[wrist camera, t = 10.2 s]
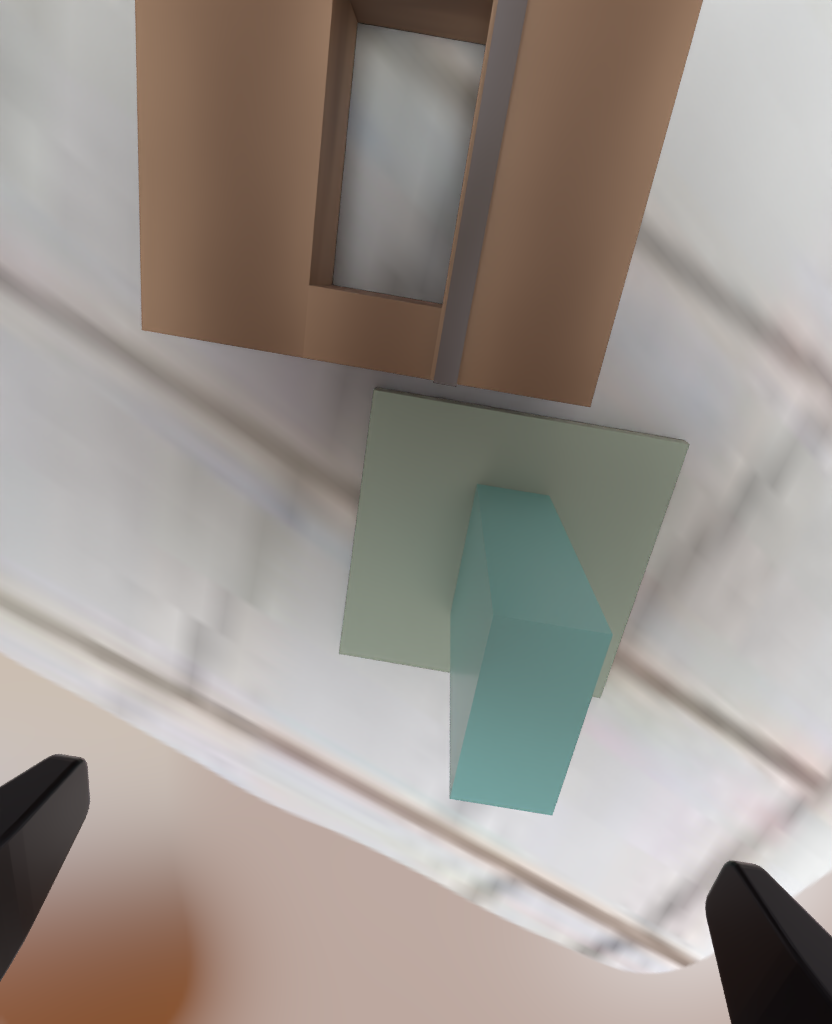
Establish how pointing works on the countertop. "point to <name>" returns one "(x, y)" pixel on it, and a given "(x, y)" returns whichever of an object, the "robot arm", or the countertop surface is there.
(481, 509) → the tall teal box
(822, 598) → the countertop surface
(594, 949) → the countertop surface
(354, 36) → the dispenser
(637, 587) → the mat
